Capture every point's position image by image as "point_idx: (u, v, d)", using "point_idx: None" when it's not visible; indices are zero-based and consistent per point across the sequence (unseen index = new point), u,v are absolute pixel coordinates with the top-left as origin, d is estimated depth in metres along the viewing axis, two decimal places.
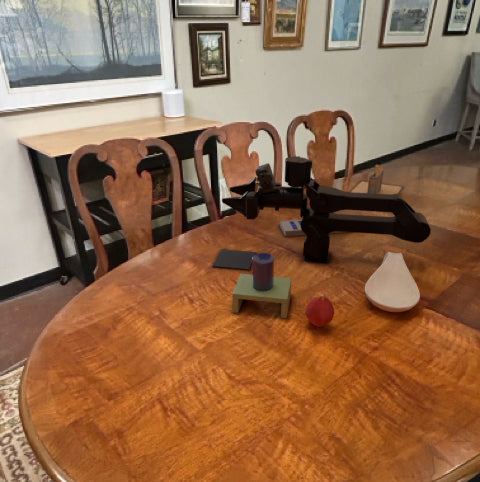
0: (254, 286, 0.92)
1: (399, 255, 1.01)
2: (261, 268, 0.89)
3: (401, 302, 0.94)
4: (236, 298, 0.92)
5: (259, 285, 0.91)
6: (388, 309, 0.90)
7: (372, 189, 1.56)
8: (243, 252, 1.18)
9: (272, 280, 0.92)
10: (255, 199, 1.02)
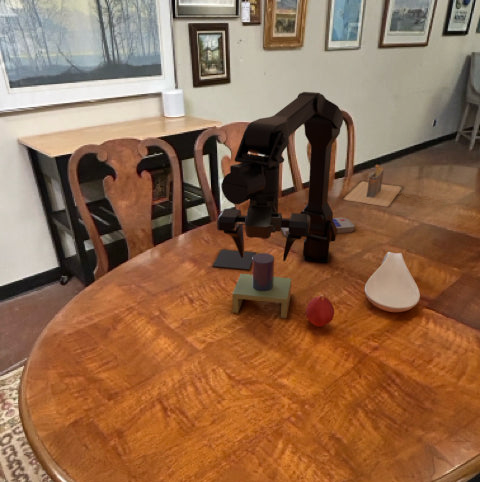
0: (254, 286, 0.92)
1: (399, 255, 1.01)
2: (261, 268, 0.89)
3: (401, 302, 0.94)
4: (236, 298, 0.92)
5: (259, 285, 0.91)
6: (388, 309, 0.90)
7: (372, 189, 1.56)
8: None
9: (272, 280, 0.92)
10: (307, 224, 0.82)
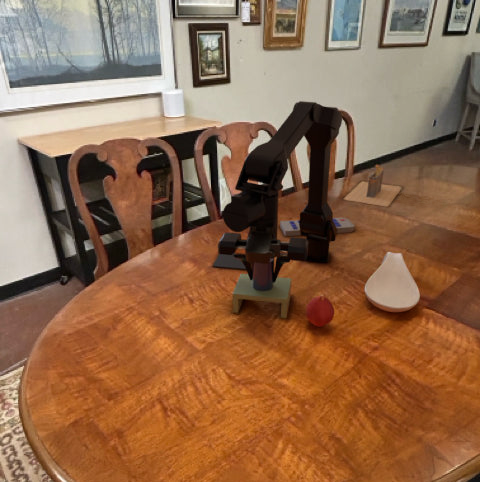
0: (254, 286, 0.92)
1: (399, 255, 1.01)
2: (261, 268, 0.89)
3: (401, 302, 0.94)
4: (236, 298, 0.92)
5: (259, 285, 0.91)
6: (388, 309, 0.90)
7: (372, 189, 1.56)
8: None
9: (272, 280, 0.92)
10: (305, 249, 0.85)
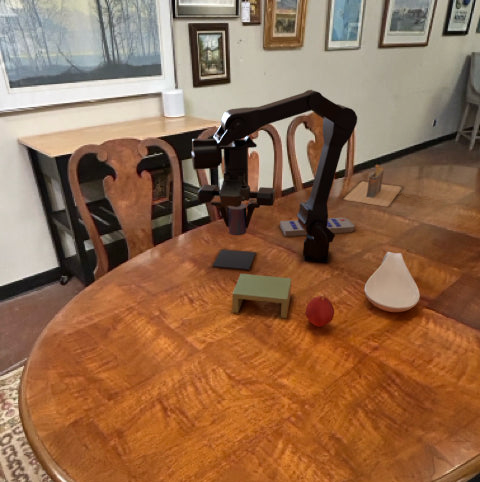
0: (229, 231, 1.06)
1: (399, 255, 1.01)
2: (235, 214, 1.03)
3: (401, 302, 0.94)
4: (236, 298, 0.92)
5: (234, 230, 1.05)
6: (388, 309, 0.90)
7: (372, 189, 1.56)
8: (243, 252, 1.18)
9: (245, 226, 1.06)
10: (272, 195, 0.99)
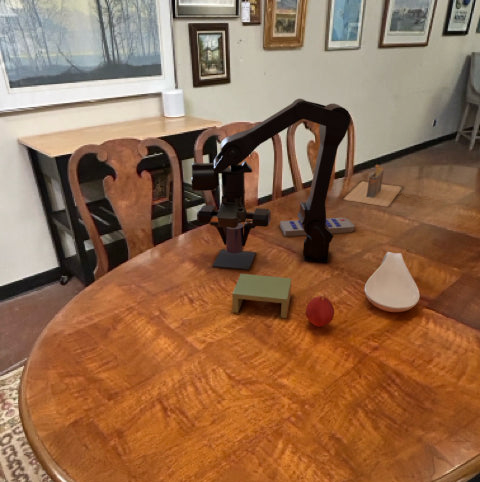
0: (227, 249, 1.12)
1: (399, 255, 1.01)
2: (232, 234, 1.09)
3: (400, 302, 0.94)
4: (236, 298, 0.92)
5: (231, 248, 1.11)
6: (388, 309, 0.90)
7: (372, 189, 1.56)
8: (243, 252, 1.18)
9: (242, 244, 1.12)
10: (267, 217, 1.05)
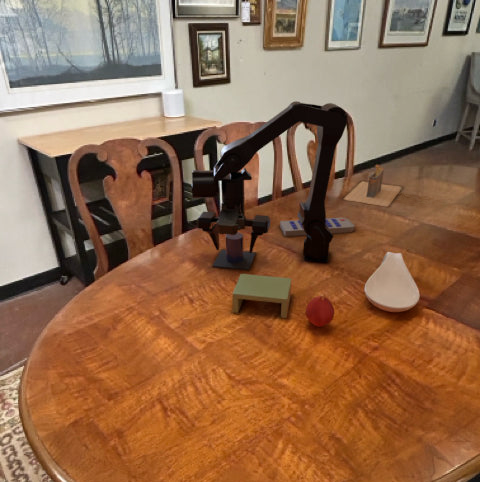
0: (227, 259, 1.14)
1: (399, 255, 1.01)
2: (232, 244, 1.10)
3: (400, 302, 0.94)
4: (236, 298, 0.92)
5: (231, 258, 1.13)
6: (388, 309, 0.90)
7: (372, 189, 1.56)
8: None
9: (242, 254, 1.13)
10: (266, 224, 1.06)
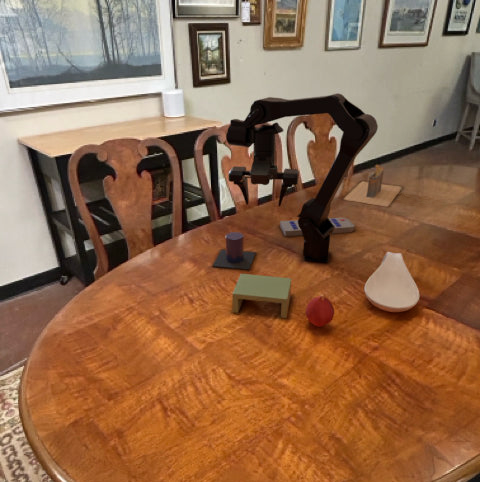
0: (227, 259, 1.14)
1: (399, 255, 1.01)
2: (232, 244, 1.10)
3: (400, 302, 0.94)
4: (236, 298, 0.92)
5: (231, 258, 1.13)
6: (388, 309, 0.90)
7: (372, 189, 1.56)
8: None
9: (242, 254, 1.13)
10: (296, 175, 1.10)
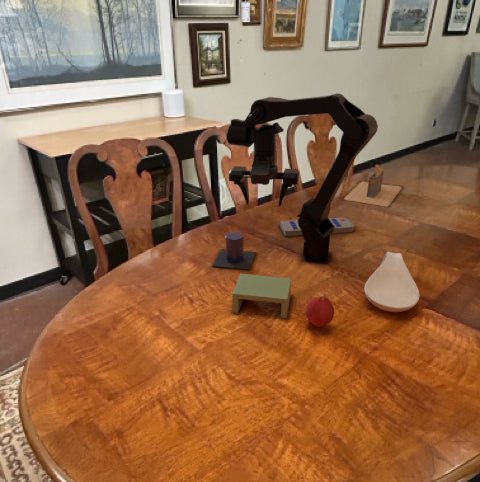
0: (227, 259, 1.14)
1: (399, 255, 1.01)
2: (232, 244, 1.10)
3: (400, 302, 0.94)
4: (236, 298, 0.92)
5: (231, 258, 1.13)
6: (388, 309, 0.90)
7: (372, 189, 1.56)
8: None
9: (242, 254, 1.13)
10: (296, 175, 1.10)
